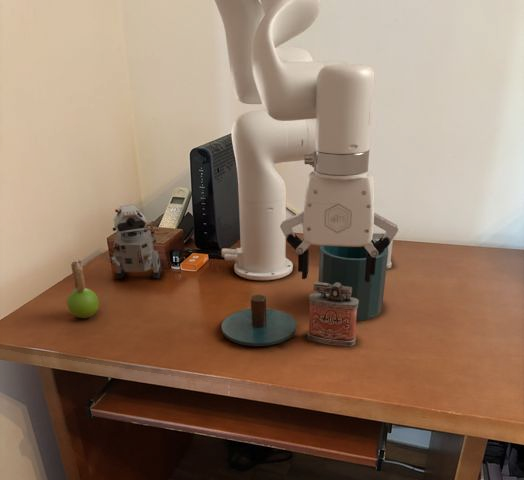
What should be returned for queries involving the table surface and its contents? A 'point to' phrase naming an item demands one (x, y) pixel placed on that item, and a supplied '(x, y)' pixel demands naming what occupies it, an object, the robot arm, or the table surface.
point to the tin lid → (258, 325)
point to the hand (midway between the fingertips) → (335, 277)
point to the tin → (355, 276)
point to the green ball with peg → (81, 295)
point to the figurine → (134, 243)
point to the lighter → (332, 314)
